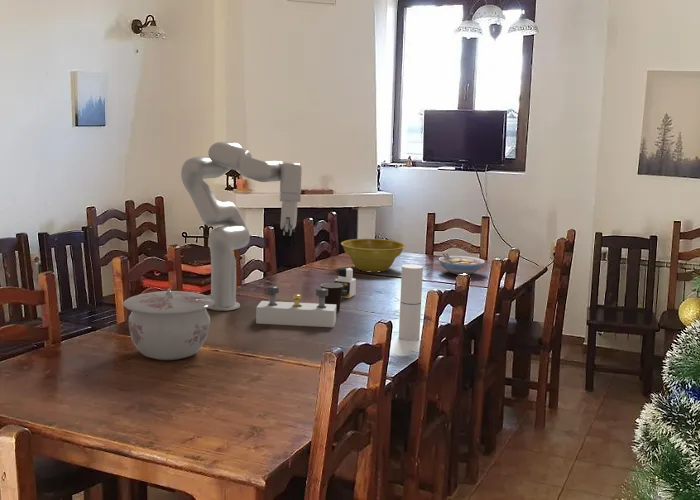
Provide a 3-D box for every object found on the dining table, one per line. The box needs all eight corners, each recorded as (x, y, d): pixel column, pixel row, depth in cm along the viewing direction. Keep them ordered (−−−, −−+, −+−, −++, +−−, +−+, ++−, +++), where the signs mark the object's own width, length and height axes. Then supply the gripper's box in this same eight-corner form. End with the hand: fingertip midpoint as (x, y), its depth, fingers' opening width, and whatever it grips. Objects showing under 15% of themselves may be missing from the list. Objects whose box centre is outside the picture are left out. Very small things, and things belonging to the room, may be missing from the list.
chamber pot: (169, 374, 217) (169, 303, 213) (104, 356, 231) (102, 289, 228) (234, 351, 240) (234, 287, 237) (171, 336, 254) (170, 275, 251)
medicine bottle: (333, 296, 320) (334, 268, 318) (340, 293, 327) (341, 265, 325) (349, 298, 317) (350, 270, 315) (355, 295, 324) (356, 267, 322)
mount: (256, 323, 274) (256, 307, 273) (261, 316, 284) (261, 300, 283) (333, 327, 272) (333, 311, 271) (335, 320, 282) (336, 304, 281)
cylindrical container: (405, 341, 257) (409, 268, 253) (394, 335, 264) (398, 265, 259) (423, 339, 261) (427, 267, 256) (412, 333, 267) (415, 263, 263)
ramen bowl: (488, 280, 364) (489, 263, 363) (440, 278, 364) (441, 262, 363) (479, 270, 389) (480, 254, 387) (435, 268, 389) (436, 253, 388)
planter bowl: (383, 279, 358) (384, 251, 356) (327, 270, 376) (328, 243, 373) (415, 269, 385) (417, 243, 383) (362, 261, 402) (363, 236, 400)
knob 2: (314, 310, 274) (315, 290, 273) (316, 307, 279) (316, 288, 277) (326, 311, 274) (327, 291, 273) (328, 308, 278) (328, 288, 277)
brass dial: (292, 309, 275) (292, 295, 275) (293, 307, 278) (293, 294, 278) (300, 309, 275) (300, 296, 274) (301, 307, 278) (301, 294, 277)
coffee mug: (339, 313, 291) (340, 288, 289) (317, 312, 293) (318, 286, 291) (345, 307, 302) (346, 282, 301) (324, 305, 304) (325, 280, 302)
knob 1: (265, 308, 275) (265, 288, 274) (267, 305, 280) (267, 285, 278) (277, 309, 275) (277, 288, 274) (279, 306, 279) (279, 286, 278)
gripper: (282, 194, 281) (281, 239, 284) (276, 199, 264) (275, 247, 267) (303, 195, 281) (301, 240, 283) (298, 200, 264) (296, 248, 266)
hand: (288, 244), depth 275 cm, fingers open, 9 cm apart
